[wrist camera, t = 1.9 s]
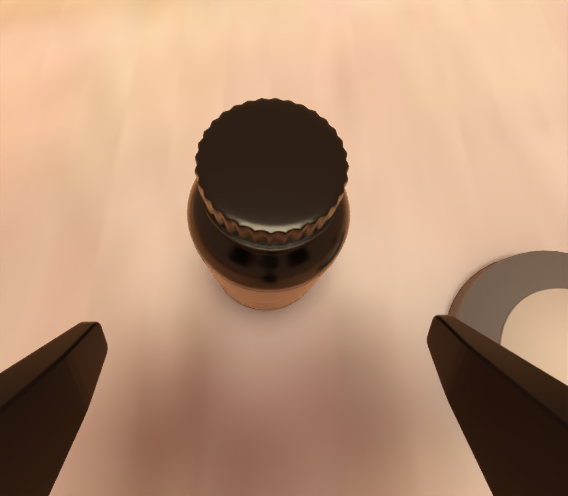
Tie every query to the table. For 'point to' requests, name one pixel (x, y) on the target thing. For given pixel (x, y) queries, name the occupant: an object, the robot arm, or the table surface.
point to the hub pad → (522, 308)
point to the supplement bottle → (269, 201)
